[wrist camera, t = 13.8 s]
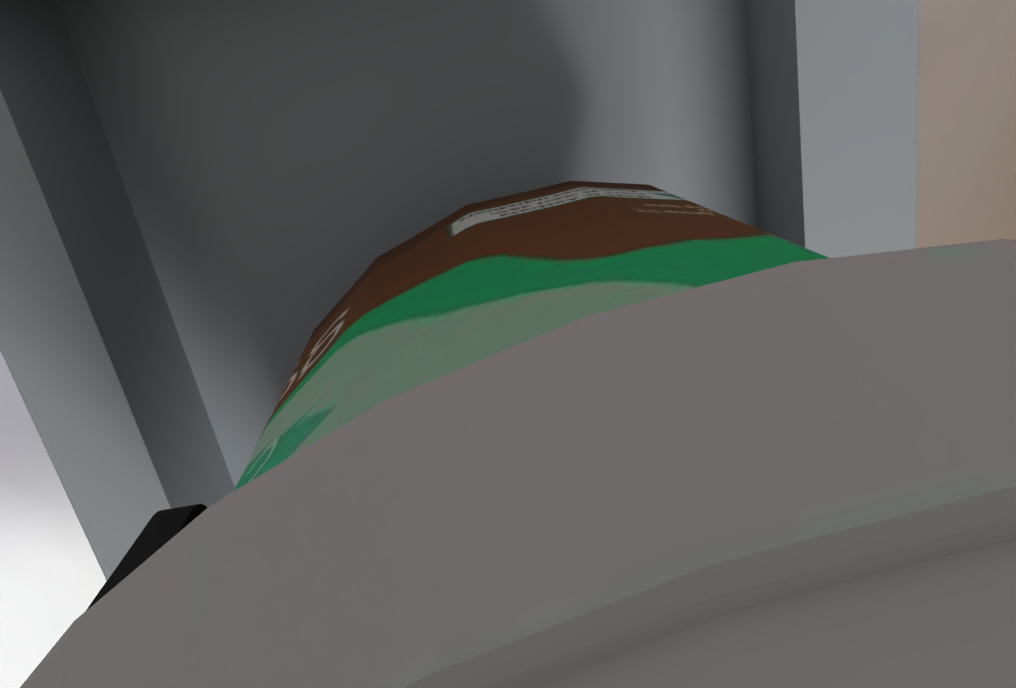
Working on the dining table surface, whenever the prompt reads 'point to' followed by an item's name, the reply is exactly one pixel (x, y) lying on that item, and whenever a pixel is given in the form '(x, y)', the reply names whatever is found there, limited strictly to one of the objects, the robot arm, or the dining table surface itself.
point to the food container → (608, 472)
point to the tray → (373, 181)
